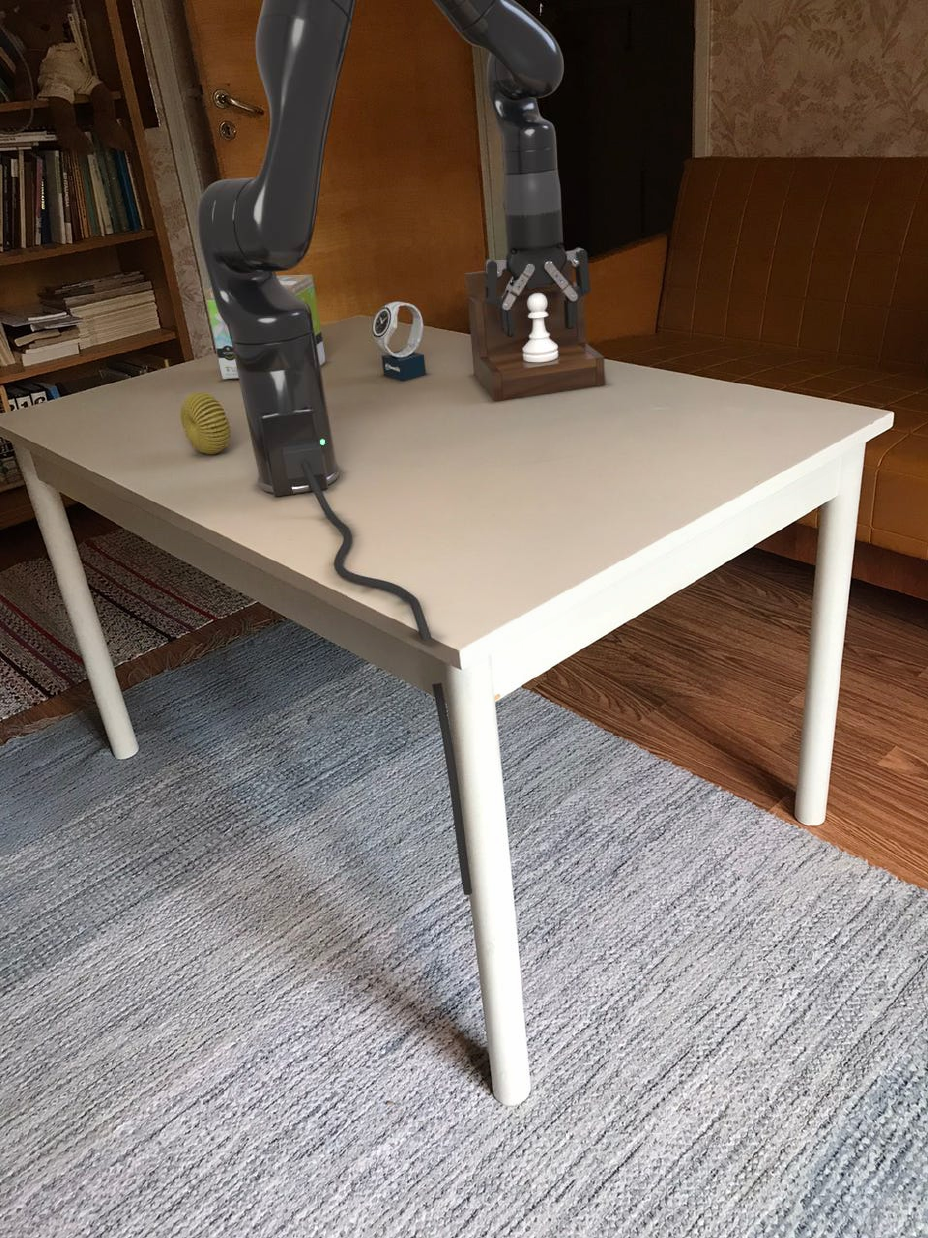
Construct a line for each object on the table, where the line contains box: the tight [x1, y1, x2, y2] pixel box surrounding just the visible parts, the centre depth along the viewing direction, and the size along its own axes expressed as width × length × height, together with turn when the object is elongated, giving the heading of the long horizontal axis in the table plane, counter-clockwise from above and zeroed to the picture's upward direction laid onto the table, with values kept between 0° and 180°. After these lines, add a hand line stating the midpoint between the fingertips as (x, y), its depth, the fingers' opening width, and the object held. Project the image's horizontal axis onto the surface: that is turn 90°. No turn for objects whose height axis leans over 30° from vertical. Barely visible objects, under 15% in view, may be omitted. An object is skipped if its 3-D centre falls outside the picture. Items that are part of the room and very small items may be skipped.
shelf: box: [464, 260, 606, 402], centre depth 144 cm, size 15×16×15 cm
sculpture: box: [180, 392, 231, 455], centre depth 130 cm, size 8×4×8 cm, turn 44°
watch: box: [371, 301, 427, 382], centre depth 155 cm, size 6×8×11 cm
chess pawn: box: [522, 293, 558, 363], centre depth 141 cm, size 5×5×9 cm
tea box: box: [204, 273, 326, 380], centre depth 164 cm, size 15×10×15 cm, turn 76°
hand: (540, 331), depth 141 cm, fingers open, 8 cm apart
